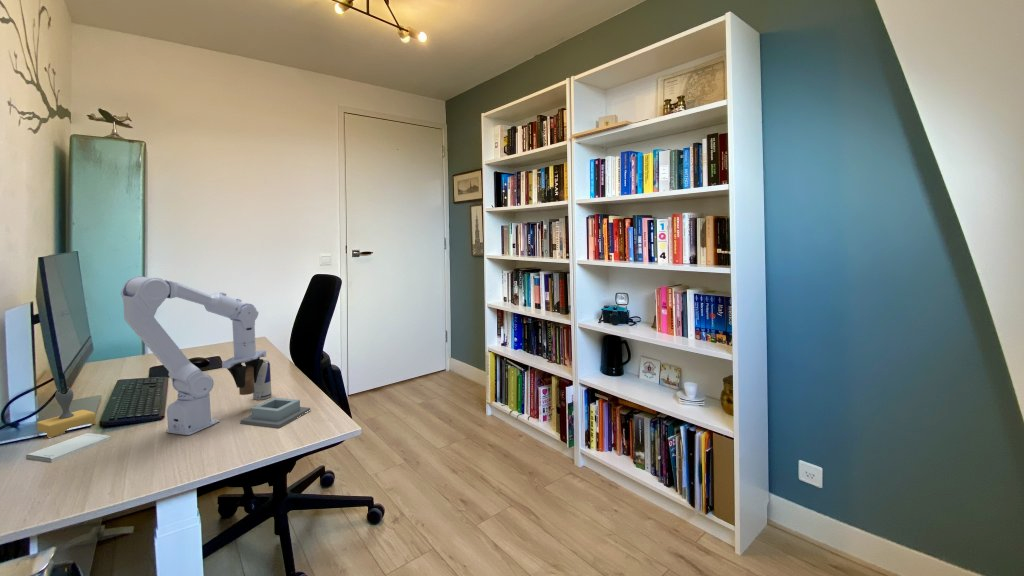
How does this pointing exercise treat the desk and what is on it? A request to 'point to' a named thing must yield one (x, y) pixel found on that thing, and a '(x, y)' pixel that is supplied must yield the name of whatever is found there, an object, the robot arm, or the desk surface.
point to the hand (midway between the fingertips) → (246, 385)
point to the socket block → (275, 413)
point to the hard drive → (68, 447)
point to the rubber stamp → (65, 417)
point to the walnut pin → (248, 382)
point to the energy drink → (263, 382)
